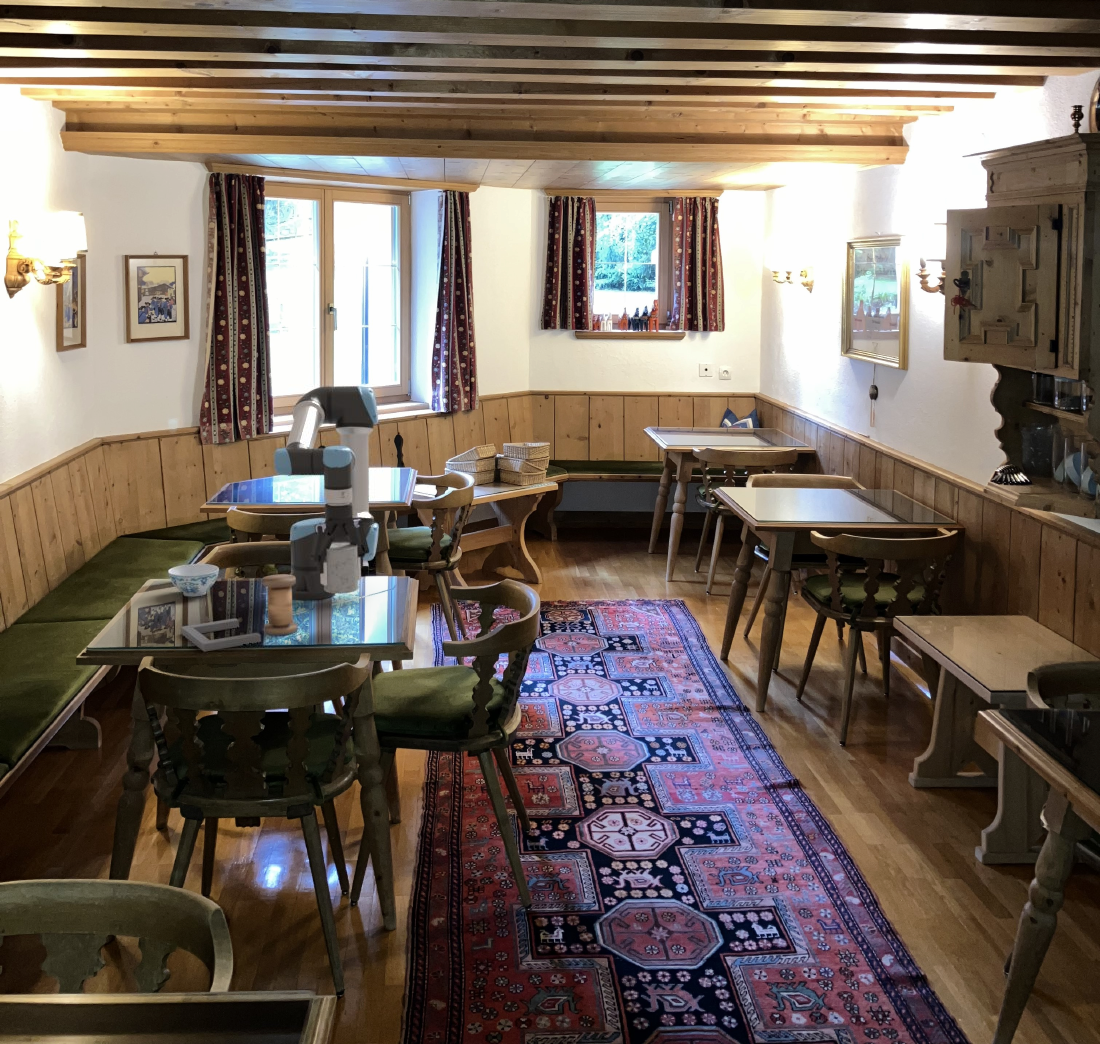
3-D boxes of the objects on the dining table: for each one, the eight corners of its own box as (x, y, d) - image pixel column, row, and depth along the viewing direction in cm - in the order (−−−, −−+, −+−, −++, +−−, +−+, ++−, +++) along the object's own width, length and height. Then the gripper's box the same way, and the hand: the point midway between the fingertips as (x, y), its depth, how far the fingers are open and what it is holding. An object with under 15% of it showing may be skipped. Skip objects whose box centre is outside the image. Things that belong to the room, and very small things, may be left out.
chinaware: (200, 602, 351) (198, 577, 349) (159, 597, 356) (157, 572, 355) (229, 590, 365) (228, 566, 363) (190, 585, 370) (188, 562, 368)
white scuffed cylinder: (365, 586, 326) (364, 544, 323) (346, 595, 318) (344, 551, 315) (336, 582, 330) (335, 540, 327) (317, 590, 321) (315, 547, 319)
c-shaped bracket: (181, 633, 319) (180, 626, 318) (235, 625, 327) (235, 618, 327) (204, 651, 303) (203, 644, 303) (261, 642, 312) (260, 634, 312)
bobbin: (259, 629, 324) (257, 577, 321) (289, 624, 329) (288, 572, 326) (271, 637, 316) (269, 583, 314) (302, 632, 322) (300, 579, 319)
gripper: (306, 510, 309) (309, 590, 314) (381, 500, 322) (382, 578, 327) (295, 505, 315) (298, 584, 320) (368, 496, 328) (370, 572, 333)
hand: (340, 581), depth 323 cm, fingers closed on white scuffed cylinder, 9 cm apart
